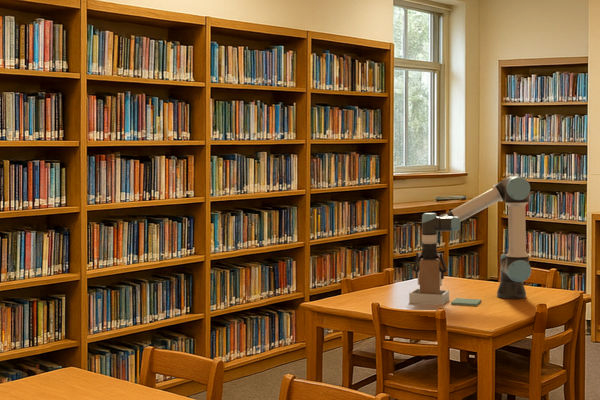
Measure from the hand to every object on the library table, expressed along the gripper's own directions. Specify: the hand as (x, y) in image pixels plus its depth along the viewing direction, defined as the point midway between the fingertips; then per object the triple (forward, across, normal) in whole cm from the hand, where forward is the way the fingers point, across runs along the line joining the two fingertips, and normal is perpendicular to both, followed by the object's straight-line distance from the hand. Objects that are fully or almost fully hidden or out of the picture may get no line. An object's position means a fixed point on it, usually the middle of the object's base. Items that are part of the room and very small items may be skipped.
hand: (429, 285), depth 432 cm
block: (+7, 0, 0) cm, 7 cm away
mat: (+9, -19, -1) cm, 21 cm away
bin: (+9, 0, 0) cm, 9 cm away
